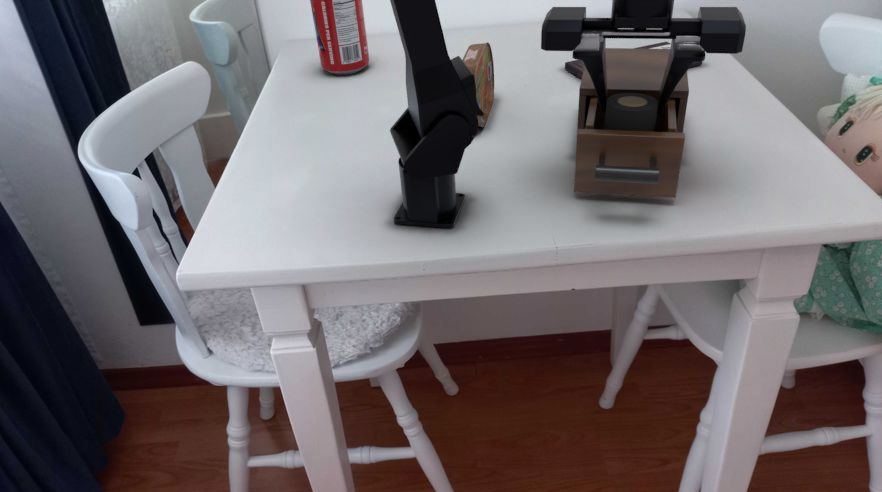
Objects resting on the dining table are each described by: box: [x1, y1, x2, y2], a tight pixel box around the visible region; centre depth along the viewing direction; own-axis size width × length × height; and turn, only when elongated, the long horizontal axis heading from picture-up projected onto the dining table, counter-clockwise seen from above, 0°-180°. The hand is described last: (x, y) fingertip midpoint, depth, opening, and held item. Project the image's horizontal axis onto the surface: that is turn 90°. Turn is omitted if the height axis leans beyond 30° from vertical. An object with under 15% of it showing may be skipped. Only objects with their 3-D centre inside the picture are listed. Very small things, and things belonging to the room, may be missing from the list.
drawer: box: [573, 95, 686, 199], centre depth 74 cm, size 17×10×7 cm, turn 166°
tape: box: [604, 93, 658, 132], centre depth 73 cm, size 5×5×4 cm
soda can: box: [309, 0, 370, 76], centre depth 109 cm, size 8×8×15 cm
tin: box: [462, 42, 495, 128], centre depth 93 cm, size 15×3×8 cm, turn 168°
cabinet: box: [575, 47, 690, 145], centre depth 84 cm, size 14×12×9 cm
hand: (631, 112), depth 73 cm, fingers closed on tape, 5 cm apart
